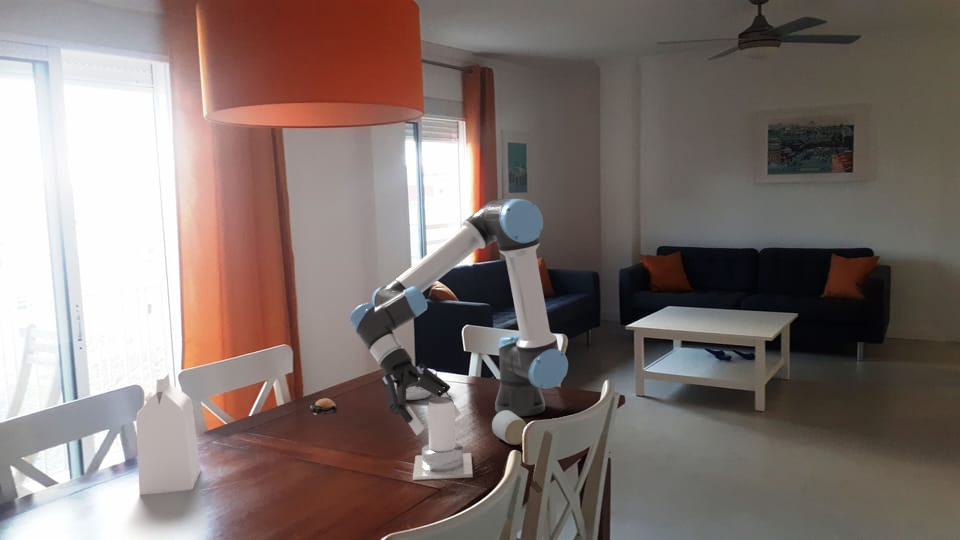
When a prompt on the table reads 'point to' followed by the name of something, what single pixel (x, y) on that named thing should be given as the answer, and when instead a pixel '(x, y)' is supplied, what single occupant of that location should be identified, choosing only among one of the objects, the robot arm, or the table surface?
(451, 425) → the can
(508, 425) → the ceramic mug
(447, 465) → the duct collar
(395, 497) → the table surface
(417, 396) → the white bowl
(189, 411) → the milk
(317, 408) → the toy turtle
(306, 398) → the table surface
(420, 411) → the table surface
